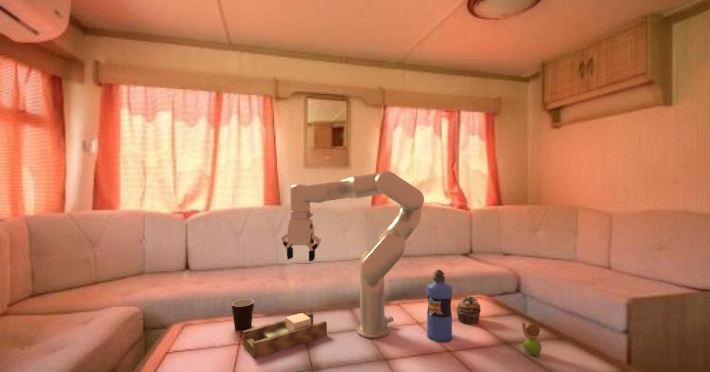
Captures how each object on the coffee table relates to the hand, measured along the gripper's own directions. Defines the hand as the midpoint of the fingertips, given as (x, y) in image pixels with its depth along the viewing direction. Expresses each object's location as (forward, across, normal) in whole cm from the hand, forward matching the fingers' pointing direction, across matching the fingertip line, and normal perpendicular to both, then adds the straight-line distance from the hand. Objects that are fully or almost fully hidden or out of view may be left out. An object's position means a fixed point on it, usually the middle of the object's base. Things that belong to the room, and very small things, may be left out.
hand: (300, 259), depth 130 cm
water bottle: (+28, -51, -15) cm, 60 cm away
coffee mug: (+29, +25, +3) cm, 38 cm away
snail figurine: (+28, -81, -13) cm, 87 cm away
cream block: (+25, -1, +4) cm, 26 cm away
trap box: (+28, +2, +8) cm, 29 cm away
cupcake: (+28, -60, -34) cm, 75 cm away
